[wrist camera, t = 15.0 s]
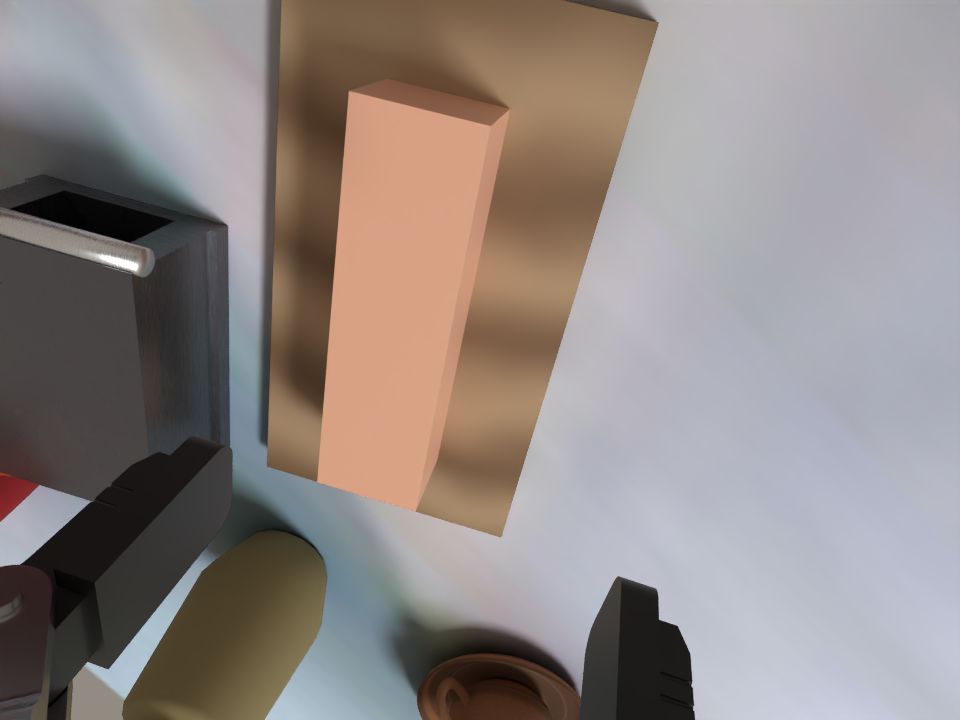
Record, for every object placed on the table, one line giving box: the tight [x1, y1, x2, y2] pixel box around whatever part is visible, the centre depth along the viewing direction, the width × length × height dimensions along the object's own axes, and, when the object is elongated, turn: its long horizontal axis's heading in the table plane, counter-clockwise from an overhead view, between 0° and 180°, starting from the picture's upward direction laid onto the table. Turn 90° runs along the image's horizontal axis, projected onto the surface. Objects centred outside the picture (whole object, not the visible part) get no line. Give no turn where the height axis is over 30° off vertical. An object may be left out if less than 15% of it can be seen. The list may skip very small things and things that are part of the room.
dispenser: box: [0, 175, 230, 502], centre depth 32 cm, size 15×10×7 cm
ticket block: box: [317, 79, 510, 512], centre depth 28 cm, size 18×5×4 cm, turn 169°
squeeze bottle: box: [122, 530, 327, 720], centre depth 35 cm, size 8×8×18 cm
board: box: [267, 0, 659, 537], centre depth 30 cm, size 26×14×1 cm, turn 168°
